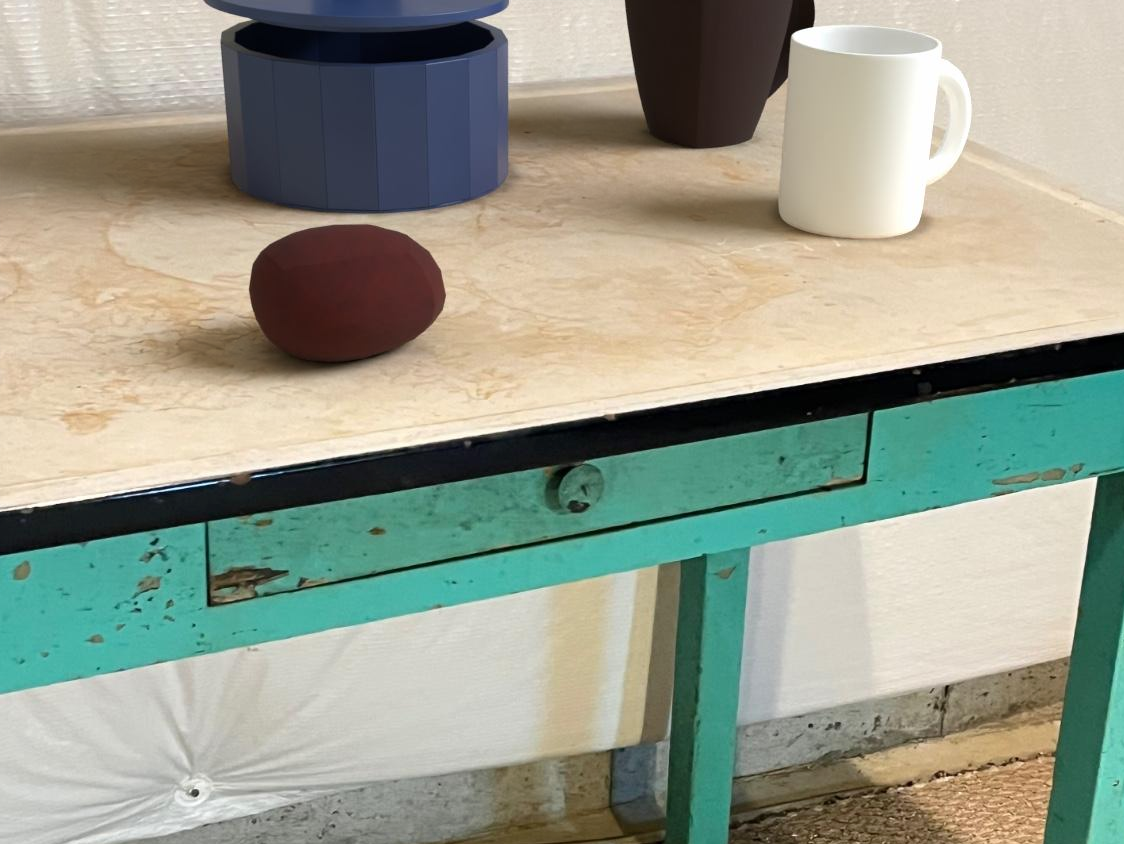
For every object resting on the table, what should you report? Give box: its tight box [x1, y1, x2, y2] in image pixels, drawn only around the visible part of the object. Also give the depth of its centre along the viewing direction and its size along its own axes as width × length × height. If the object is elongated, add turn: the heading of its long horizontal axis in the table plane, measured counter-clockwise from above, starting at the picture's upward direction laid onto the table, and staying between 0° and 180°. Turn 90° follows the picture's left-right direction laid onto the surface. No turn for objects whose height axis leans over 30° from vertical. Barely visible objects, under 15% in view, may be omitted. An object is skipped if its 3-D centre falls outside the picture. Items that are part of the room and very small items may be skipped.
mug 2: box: [778, 24, 972, 240], centre depth 97 cm, size 12×8×10 cm
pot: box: [219, 19, 509, 215], centre depth 102 cm, size 17×17×8 cm
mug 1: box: [624, 0, 816, 150], centre depth 112 cm, size 10×14×12 cm
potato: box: [248, 223, 447, 363], centre depth 77 cm, size 8×9×6 cm
